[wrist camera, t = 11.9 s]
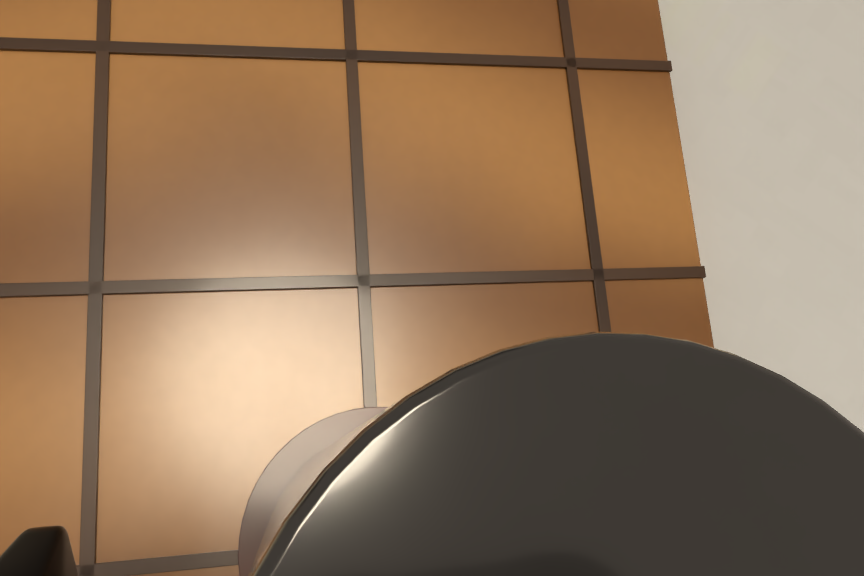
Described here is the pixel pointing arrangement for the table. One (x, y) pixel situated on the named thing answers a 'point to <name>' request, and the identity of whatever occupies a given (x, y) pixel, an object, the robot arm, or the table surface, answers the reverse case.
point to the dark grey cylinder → (583, 472)
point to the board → (303, 238)
